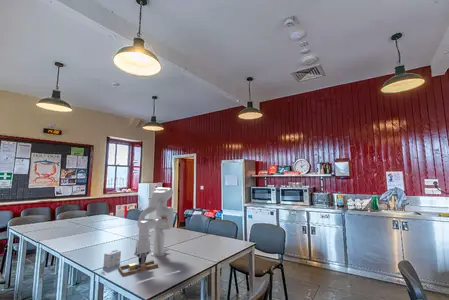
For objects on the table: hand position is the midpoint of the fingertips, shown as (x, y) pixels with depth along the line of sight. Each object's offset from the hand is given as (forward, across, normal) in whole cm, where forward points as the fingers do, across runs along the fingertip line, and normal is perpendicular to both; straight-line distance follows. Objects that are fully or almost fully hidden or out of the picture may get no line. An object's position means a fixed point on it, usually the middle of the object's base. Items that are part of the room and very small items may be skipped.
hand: (142, 262), depth 173 cm
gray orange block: (+4, 0, 0) cm, 4 cm away
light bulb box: (+5, +17, -19) cm, 26 cm away
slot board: (+5, +2, 0) cm, 6 cm away
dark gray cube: (+4, +3, 0) cm, 5 cm away
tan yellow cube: (+4, +7, 0) cm, 9 cm away
